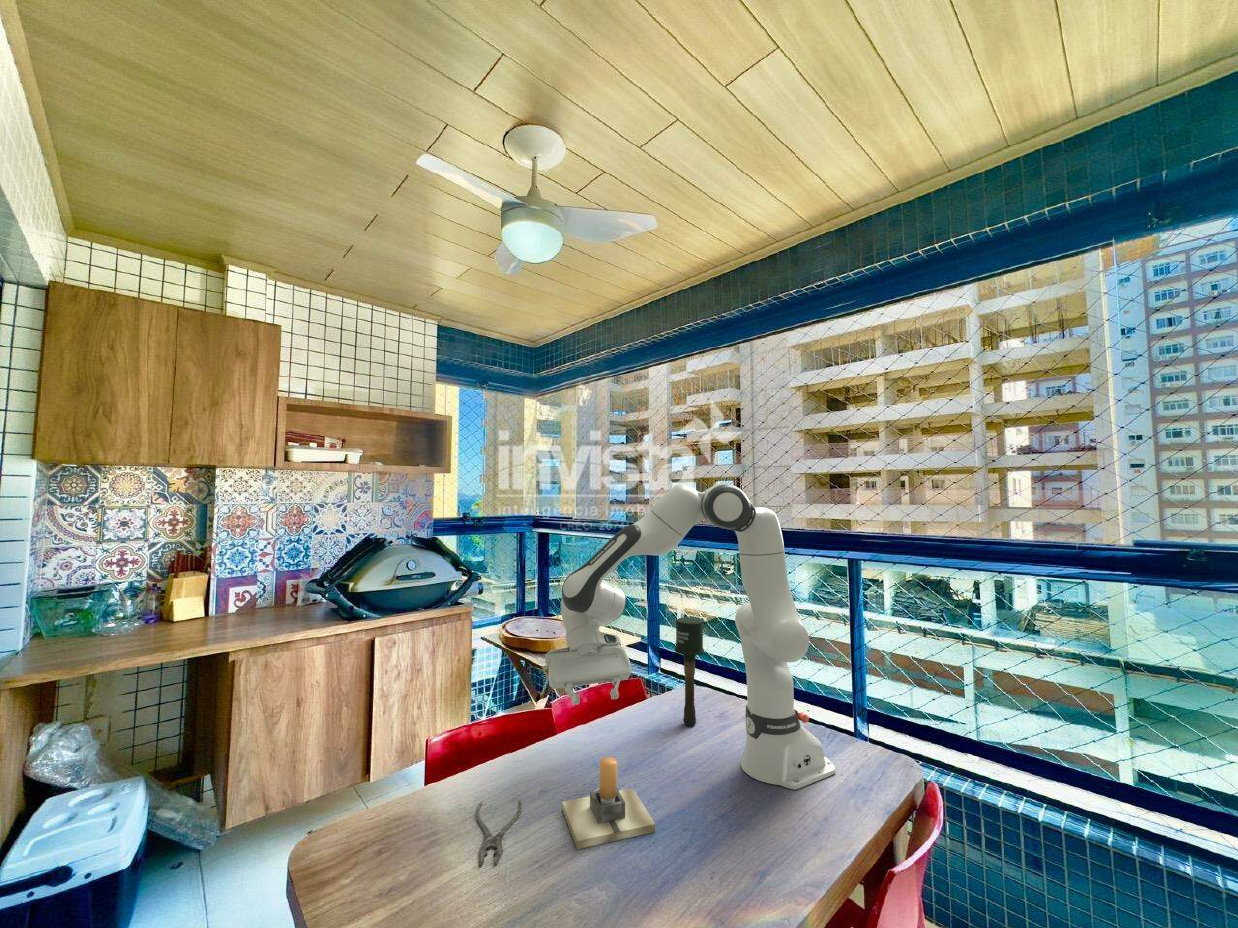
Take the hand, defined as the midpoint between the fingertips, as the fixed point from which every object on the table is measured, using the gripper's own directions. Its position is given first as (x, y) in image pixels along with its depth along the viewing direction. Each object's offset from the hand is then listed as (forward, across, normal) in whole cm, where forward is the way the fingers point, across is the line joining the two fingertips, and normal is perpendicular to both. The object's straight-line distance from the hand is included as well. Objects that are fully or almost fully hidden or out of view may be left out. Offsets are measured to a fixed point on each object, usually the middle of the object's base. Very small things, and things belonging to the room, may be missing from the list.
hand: (596, 700), depth 118 cm
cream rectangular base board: (+22, -1, +4) cm, 23 cm away
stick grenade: (-1, +35, +29) cm, 45 cm away
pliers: (+20, -22, +8) cm, 31 cm away
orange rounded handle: (+21, -1, +3) cm, 22 cm away
